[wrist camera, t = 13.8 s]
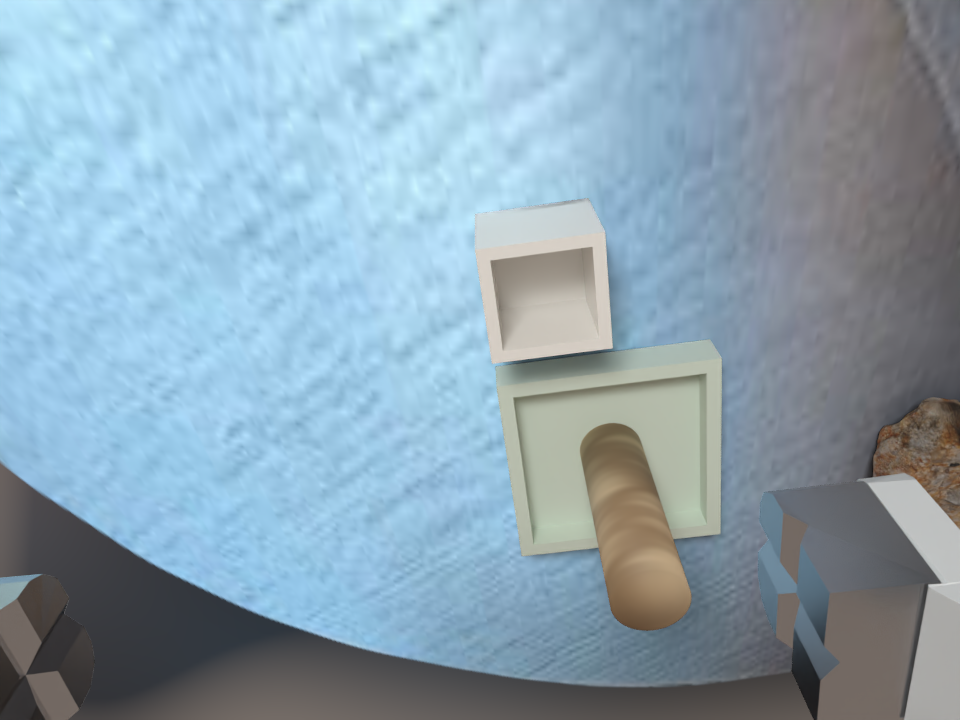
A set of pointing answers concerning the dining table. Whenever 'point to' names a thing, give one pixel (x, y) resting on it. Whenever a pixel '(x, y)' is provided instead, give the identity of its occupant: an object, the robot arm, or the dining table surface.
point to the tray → (612, 399)
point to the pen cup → (543, 280)
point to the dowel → (632, 531)
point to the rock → (926, 451)
